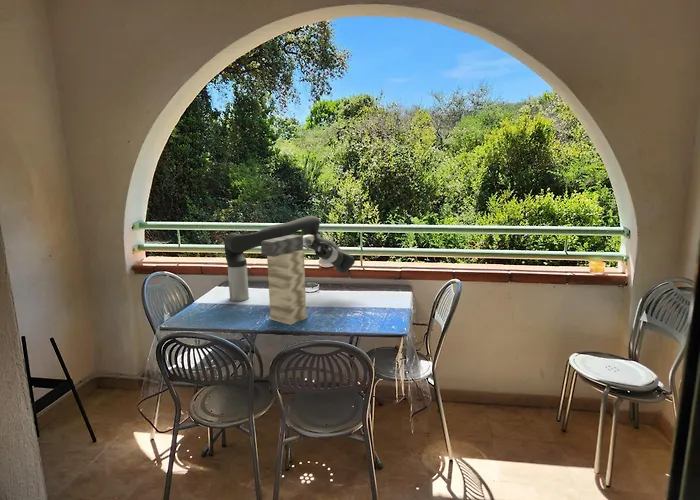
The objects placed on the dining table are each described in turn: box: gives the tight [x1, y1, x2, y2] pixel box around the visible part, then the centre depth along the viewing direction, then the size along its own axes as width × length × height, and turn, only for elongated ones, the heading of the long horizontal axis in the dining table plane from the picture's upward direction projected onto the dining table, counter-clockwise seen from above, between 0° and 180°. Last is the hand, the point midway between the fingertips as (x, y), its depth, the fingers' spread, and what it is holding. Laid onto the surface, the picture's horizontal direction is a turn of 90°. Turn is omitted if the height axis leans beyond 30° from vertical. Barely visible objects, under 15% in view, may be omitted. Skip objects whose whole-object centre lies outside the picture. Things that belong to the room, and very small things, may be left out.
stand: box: [260, 234, 307, 326], centre depth 193 cm, size 19×12×36 cm, turn 144°
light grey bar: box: [302, 235, 314, 246], centre depth 195 cm, size 24×4×4 cm, turn 144°
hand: (306, 240), depth 202 cm, fingers open, 8 cm apart
